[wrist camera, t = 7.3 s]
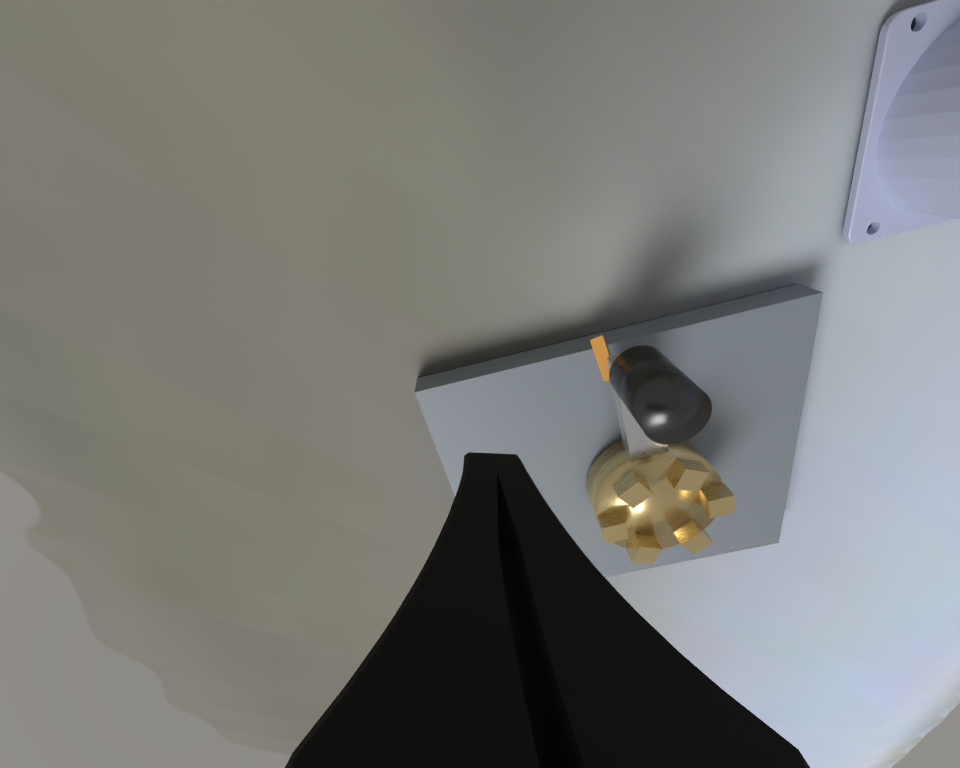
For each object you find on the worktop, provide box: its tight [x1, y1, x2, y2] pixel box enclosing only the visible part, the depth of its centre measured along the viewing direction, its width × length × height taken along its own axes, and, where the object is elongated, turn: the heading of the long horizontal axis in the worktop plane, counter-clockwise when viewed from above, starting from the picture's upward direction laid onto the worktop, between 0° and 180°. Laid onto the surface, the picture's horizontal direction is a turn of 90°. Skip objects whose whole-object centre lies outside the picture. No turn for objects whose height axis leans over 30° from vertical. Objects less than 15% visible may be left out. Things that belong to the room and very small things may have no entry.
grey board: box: [415, 284, 823, 577], centre depth 23 cm, size 19×18×2 cm
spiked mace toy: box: [586, 345, 735, 564], centre depth 18 cm, size 12×6×5 cm, turn 18°
